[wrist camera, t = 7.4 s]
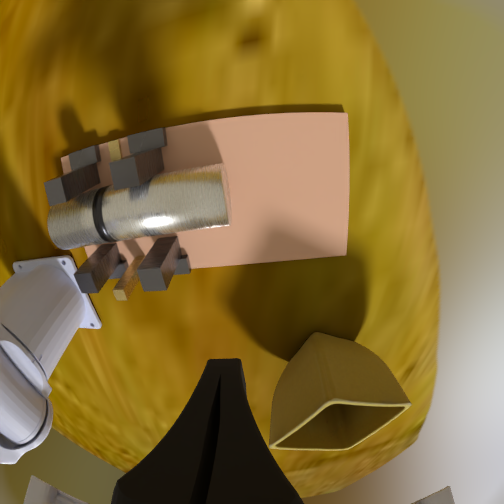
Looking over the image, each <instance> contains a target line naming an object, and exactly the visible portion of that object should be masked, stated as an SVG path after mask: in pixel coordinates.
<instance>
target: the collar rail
mask: <svg viewBox="0 0 504 504" xmlns="http://www.w3.org/2000/svg"><path fill="white" fill-rule="evenodd" d="M127 138H128V145H129V151H130V154H131V155H128V156H125V157H123V158H122V152H121V146H120V140H119V139H117V140H114V141H110V142H108V146H109V151H110V157H111V162H110V163H109V166H110V171H111V176H112V181H113V185H114V190H115V191H116V190H120V189H125V188H130V187H136V186H140V185H142V184H143V183H145V182H146V181H148V180H149V179H151V178H152V177H154V176H155V175H157V174H158V173H160V172H161V171H163V170H164V169H165V168H164V162H163V156H162V150H161V147H165V146H168V144H167V137H166V130H165V127H163V128H158V129H154V130H149V131H145V132H141V133H137V134H133V135H129V136H127ZM132 153H133V154H132ZM68 155H69V161H70V166H71V170H72V171H70V172H67V173H65V174H63V175H60V176H58V177H56V178H53V179H51V180H49V181H47V182H45V183H44V185H45V190H46V194H47V197H48V201H49V205H50V206H53V205H57V204H61V203H64V202H67V201H69V200H71V199H72V198H74V197H76V196H77V195H79V194H81V193H83V192H84V191H86V190H88V189H90V188H92V187H93V186H95V185H97V184H99V183H101V182H100V178H99V173H98V168H97V162H100V161H101V156H100V150H99V144H98V145H94V146H91V147H88V148H85V149H82V150H79V151H76V152H73V153H71V154H68ZM190 272H191V265H190V261H189V256H188V255H182V253H181V248H180V244H179V239H178V236H173V237H163V238H158V239H157V240H156V242H155V243H154V245H153V246H152V247H151V249H150V250H149V252H148V253H147V255H144V256H136V257H135V259H134V260H133V261H132V263H131V264H130V266H129V265H128V262H127V260H122V259H121V256H120V252H119V249H118V246H117V243H112V244H104V245H100V246H99V247H98V248H97V249H96V250H95V252H94V253H93V254H92V255H91V256H90V257H89V258H88V259H87V260H86V261H85V262H84V263H83V264H82V265H81V266H80V268H79V269H78V270H77V271H76V272H75V273H74V274H73V275H74V277H75V279H76V282H77V284H78V286H79V289H80V291H81V293H98V292H99V291H100V290H101V288H102V287H103V285H104V284H105V283H106V281H107V280H108V279H114V278H120V280H119V281H118V283H117V284H116V286H115V287H114V289H113V292H114V294H115V297H116V299H117V300H128V298H129V296H130V295H131V293H132V291H133V290H134V288H135V286H136V284H137V283H138V281H139V279H140V281H141V284H142V287H143V290H144V291H161V290H167V288H168V286H169V284H170V281H171V279H172V277H173V275H176V274H190Z"/></svg>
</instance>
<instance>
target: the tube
mask: <svg viewBox="0 0 504 504" xmlns="http://www.w3.org/2000/svg"><path fill="white" fill-rule="evenodd" d="M231 223H232V209H231V198H230V190H229V183H228V178H227V173H226V169H225V166H224V164H223V163H220V164H213V165H207V166H201V167H195V168H189V169H183V170H178V171H173V172H167V173H162V174H157V175H155V176H154V177H152V178H151V179H149V180H148V181H146V182H145V183H143V184H142V185H140V186H136V187H130V188H125V189H120V190H116V191H115V190H114V185H108V186H105V187H101V188H98V189H95V190H91V191H87V192H84V193H81V194H79V195H77V196H76V197H74V198H72V199H71V200H69V201H67V202H64V203H61V204H57V205H53V206H51V208H50V210H49V214H48V230H49V234H50V237H51V239H52V241H53V242H54V244H55V245H56V246H57V247H58V248H60V249H63V250H67V249H73V248H79V247H85V246H91V245H97V244H103V243H111V242H118V241H122V240H129V239H135V238H142V237H149V236H156V235H163V234H170V233H178V232H185V231H193V230H200V229H208V228H216V227H224V226H231Z"/></svg>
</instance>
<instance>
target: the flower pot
mask: <svg viewBox="0 0 504 504" xmlns="http://www.w3.org/2000/svg"><path fill="white" fill-rule="evenodd" d="M410 406H411V402H410V401H409V399H408V398H407V396H406V394H405V393H404V391H403V389H402V388H401V386H400V385H399V383H398V381H397V380H396V378H395V377H394V375H393V374H392V372H391V371H390V369H389V368H388V366H387V365H386V364H385V363H384V362H383V361H382V360H381V359H380V358H379V357H378V356H377V355H376V354H375V353H373V352H372V351H370V350H369V349H367V348H365V347H364V346H362V345H360V344H358V343H356V342H354V341H350V340H347V339H342V338H338V337H334V336H331V335H327V334H324V333H320V332H315V333H313V334H311V335H310V337H309V338H308V339H307V341H306V342H305V343H304V344H303V346H302V347H301V348H300V349H299V351H298V352H297V353H296V354H295V355H294V357H293V358H292V359H291V360H290V361H289V363H288V364H287V366H286V368H285V370H284V371H283V373H282V375H281V377H280V379H279V381H278V384H277V386H276V389H275V392H274V396H273V401H272V412H271V425H270V439H269V448H274V449H285V450H327V451H330V450H347V449H350V448H352V447H354V446H355V445H357V444H359V443H360V442H362V441H363V440H365V439H366V438H368V437H369V436H371V435H372V434H374V433H375V432H377V431H378V430H380V429H381V428H382V427H384V426H385V425H387V424H388V423H389V422H391V421H392V420H394V419H395V418H396V417H398V416H399V415H400V414H402V413H403V412H404V411H405V410H407V409H408V408H409V407H410Z"/></svg>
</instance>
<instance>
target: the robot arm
mask: <svg viewBox="0 0 504 504" xmlns="http://www.w3.org/2000/svg"><path fill="white" fill-rule="evenodd" d="M64 261H65V262H66V263H65V262H64ZM13 269H14V271H15V274H14V275H13V276H11V277H10V278H9V279H8V280H7V281H6V282H5V283H4V284H3V285H2V286H1V287H0V463H2V464H15V463H16V462H17V461H18V460H19V458H20V457H21V456H22V455H23V454H24V453H25V452H27V451H29V450H31V449H33V448H35V447H37V446H38V445H40V444H41V443H42V442H43V441H44V440H45V438H46V437H47V435H48V433H49V431H50V428H51V425H52V420H53V407H52V404H51V401H50V400H49V398H48V396H49V394H50V392H51V390H52V388H51V387H50V386H49V384H48V383H47V381H48V379H49V377H50V375H51V374H52V372H53V370H54V368H55V366H56V365H57V363H58V361H59V359H60V357H61V356H62V354H63V352H64V351H65V349H66V347H67V346H68V344H69V342H70V341H71V339H72V337H73V336H74V334H75V332H76V331H77V329H78V328H95V329H99V328H100V327H101V326H102V324H101V322H100V320H99V318H98V316H97V313H96V311H95V309H94V307H93V305H92V303H91V301H90V299H89V296H88V294H87V293H81V291H80V289H79V286H78V284H77V282H76V279H75V277H74V275H73V274H74V273H75V272H76V271H77V268H76V266H75V263H74V261H73V258H72V257H71V256H69V255H65V256H57V257H49V258H41V259H33V260H25V261H18V262H14V263H13ZM24 504H88V503H86V502H83V501H81V500H79V499H76V498H74V497H73V496H71V495H68V494H66V493H64V492H62V491H60V490H58V489H57V488H55V487H53V486H50V485H49V484H47V483H46V482H43V481H42V480H40V479H38V478H37V477H35V476H33V475H32V476H31V479H30V482H29V486H28V490H27V493H26V497H25V500H24ZM111 504H304V503H303V501H302V499H301V498H300V496H299V495H298V493H297V491H296V490H295V489H294V487H293V486H292V485H291V483H290V482H289V481H288V479H287V478H286V476H285V475H284V473H283V472H282V470H281V469H280V467H279V466H278V464H277V463H276V461H275V459H274V458H273V456H272V454H271V452H270V451H269V449H268V447H267V445H266V443H265V441H264V439H263V437H262V435H261V433H260V431H259V429H258V427H257V424H256V422H255V420H254V417H253V415H252V412H251V409H250V407H249V404H248V400H247V395H246V383H245V378H244V373H243V368H242V363H241V360H240V359H238V358H233V359H209V360H208V361H207V364H206V367H205V369H204V371H203V374H202V376H201V378H200V380H199V382H198V384H197V386H196V388H195V390H194V392H193V394H192V396H191V398H190V399H189V401H188V403H187V405H186V406H185V408H184V409H183V411H182V413H181V414H180V416H179V417H178V419H177V420H176V422H175V423H174V425H173V426H172V427H171V429H170V430H169V431H168V433H167V434H166V435H165V436H164V437H163V439H162V440H161V441H160V442H159V443H158V445H157V446H156V447H155V448H154V449H153V450H152V451H151V452H150V453H149V454H148V455H147V456H146V457H145V458H144V459H143V460H142V461H141V462H140V463H138V464H137V465H136V466H135V467H134V468H133V469H131V470H130V471H129V472H128V473H126V474H125V475H124V476H122V477H121V478H120V479H119V480H117V483H116V486H115V488H114V492H113V496H112V501H111ZM412 504H454V500H453V496H452V492H451V489H450V486H447V487H446V488H444V489H442V490H440V491H438V492H436V493H433V494H431V495H429V496H427V497H425V498H423V499H421V500H418V501H416V502H414V503H412Z"/></svg>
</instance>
